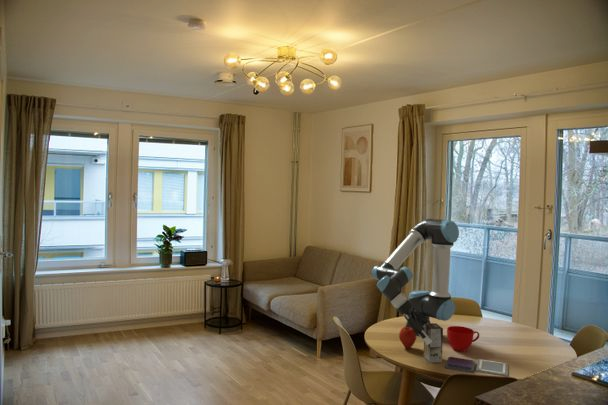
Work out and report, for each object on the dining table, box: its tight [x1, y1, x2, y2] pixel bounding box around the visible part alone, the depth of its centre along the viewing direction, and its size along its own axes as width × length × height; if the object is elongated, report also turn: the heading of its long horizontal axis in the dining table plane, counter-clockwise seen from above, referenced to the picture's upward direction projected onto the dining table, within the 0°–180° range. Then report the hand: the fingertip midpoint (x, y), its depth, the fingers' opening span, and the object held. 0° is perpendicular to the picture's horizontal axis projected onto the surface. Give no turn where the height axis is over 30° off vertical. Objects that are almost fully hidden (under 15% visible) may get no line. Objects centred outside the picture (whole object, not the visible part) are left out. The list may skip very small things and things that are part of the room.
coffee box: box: [423, 322, 444, 363], centre depth 227 cm, size 9×6×16 cm
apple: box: [398, 326, 417, 349], centre depth 241 cm, size 9×8×11 cm
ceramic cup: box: [446, 325, 480, 352], centre depth 242 cm, size 13×17×10 cm
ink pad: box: [445, 356, 476, 373], centre depth 219 cm, size 12×12×2 cm
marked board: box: [475, 358, 509, 377], centre depth 217 cm, size 13×15×1 cm
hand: (432, 339), depth 226 cm, fingers open, 13 cm apart
